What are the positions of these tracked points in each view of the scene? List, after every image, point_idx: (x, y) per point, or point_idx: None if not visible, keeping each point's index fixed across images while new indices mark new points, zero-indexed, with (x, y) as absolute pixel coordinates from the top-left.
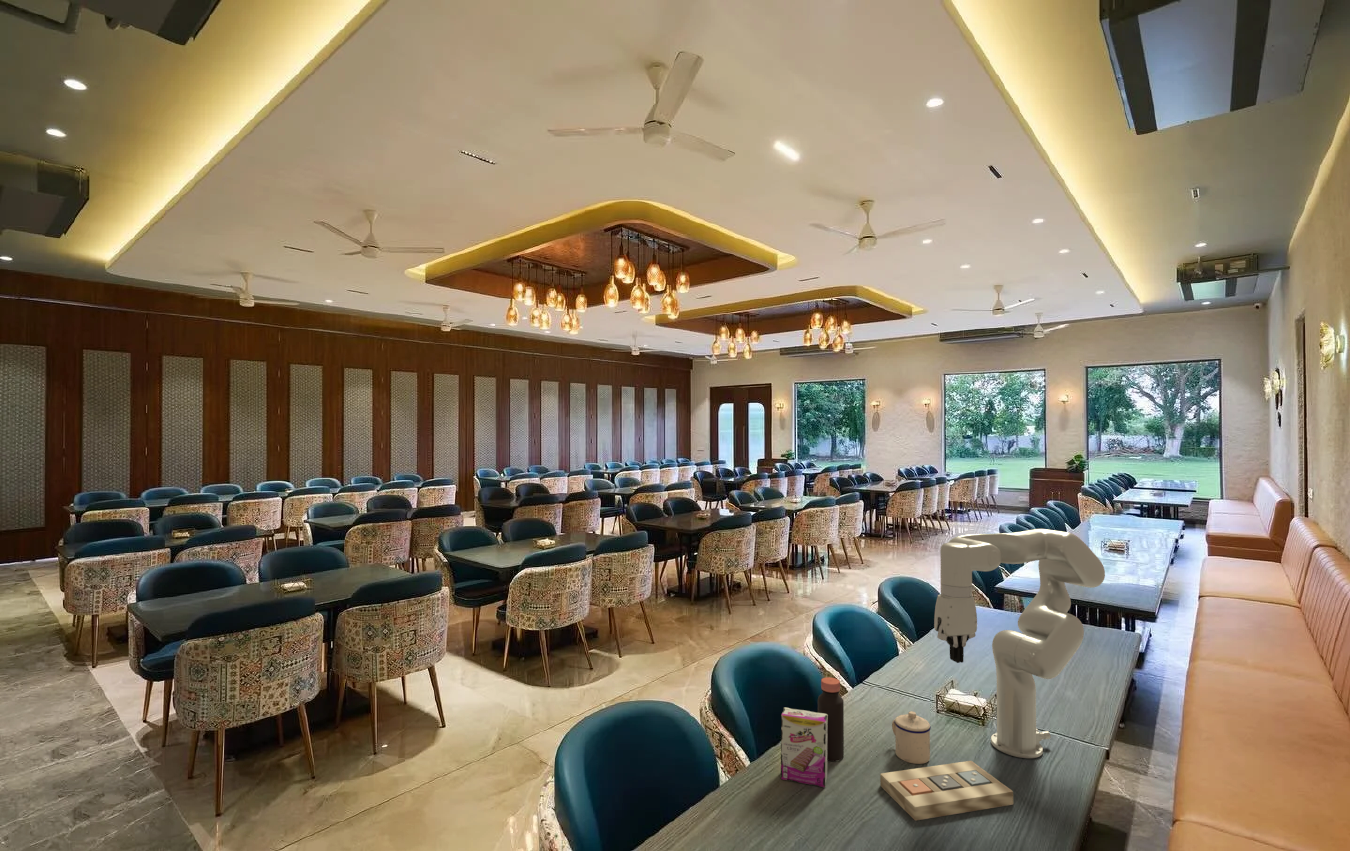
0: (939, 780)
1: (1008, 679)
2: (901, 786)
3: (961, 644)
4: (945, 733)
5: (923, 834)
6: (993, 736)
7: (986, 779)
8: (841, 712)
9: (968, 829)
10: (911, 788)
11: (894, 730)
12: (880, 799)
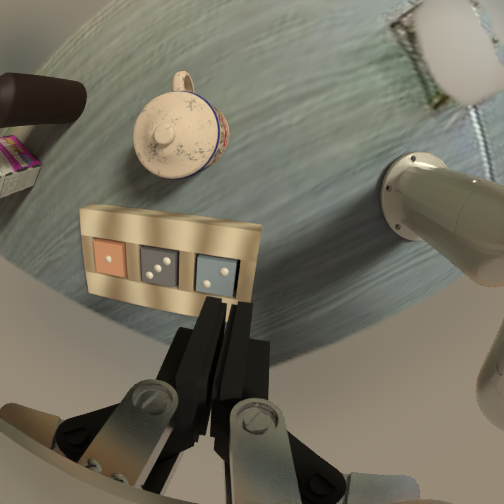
0: (150, 262)
1: (480, 263)
2: (91, 249)
3: (223, 458)
4: (339, 88)
5: (96, 304)
6: (407, 159)
7: (230, 291)
8: (17, 121)
9: (148, 321)
10: (100, 261)
11: (187, 78)
12: (78, 232)
